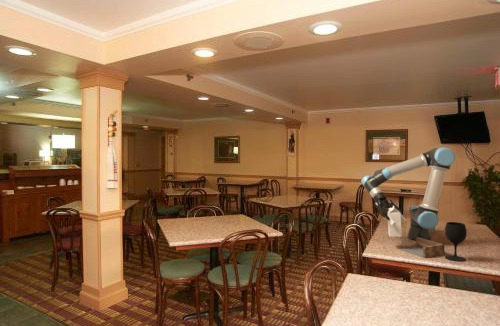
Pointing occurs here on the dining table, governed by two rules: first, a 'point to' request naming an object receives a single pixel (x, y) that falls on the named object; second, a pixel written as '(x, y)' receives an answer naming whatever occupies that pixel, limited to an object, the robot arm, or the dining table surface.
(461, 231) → the wine glass
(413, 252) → the mat
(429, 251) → the corner walls
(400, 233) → the milk carton
